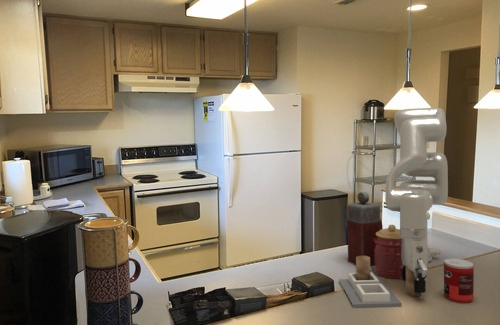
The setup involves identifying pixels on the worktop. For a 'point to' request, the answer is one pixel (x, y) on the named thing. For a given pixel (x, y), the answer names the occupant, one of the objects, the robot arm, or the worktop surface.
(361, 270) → the fitted peg
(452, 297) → the canned food
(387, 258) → the canister
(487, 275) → the worktop surface
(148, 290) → the worktop surface
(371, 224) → the red square jar
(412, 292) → the loose peg
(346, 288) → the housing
